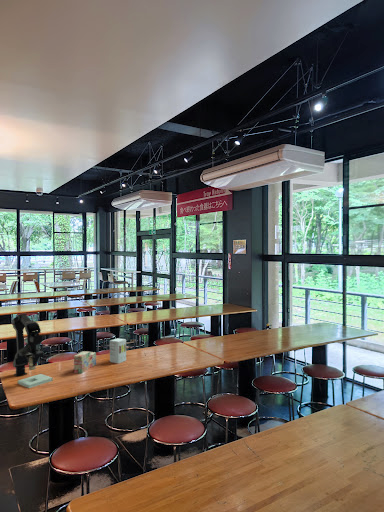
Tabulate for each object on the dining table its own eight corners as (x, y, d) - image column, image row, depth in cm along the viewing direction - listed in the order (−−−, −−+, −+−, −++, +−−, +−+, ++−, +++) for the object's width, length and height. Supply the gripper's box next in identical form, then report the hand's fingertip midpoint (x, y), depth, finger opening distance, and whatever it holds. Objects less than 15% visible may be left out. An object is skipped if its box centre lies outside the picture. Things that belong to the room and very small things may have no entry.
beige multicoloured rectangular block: (88, 364, 265) (88, 347, 265) (96, 364, 264) (96, 348, 264) (73, 373, 244) (73, 355, 244) (82, 373, 243) (81, 356, 243)
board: (17, 383, 224) (17, 380, 224) (41, 376, 237) (41, 373, 237) (29, 388, 216) (29, 385, 216) (52, 380, 229) (52, 377, 229)
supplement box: (118, 363, 264) (118, 341, 264) (109, 362, 269) (109, 340, 269) (126, 360, 272) (126, 339, 273) (117, 358, 277) (117, 337, 277)
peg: (27, 369, 225) (27, 356, 225) (33, 367, 228) (33, 355, 228) (30, 370, 222) (30, 358, 222) (37, 368, 226) (37, 356, 226)
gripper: (12, 342, 224) (12, 366, 224) (27, 346, 213) (27, 372, 213) (29, 339, 233) (29, 362, 233) (44, 342, 222) (44, 367, 222)
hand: (32, 365), depth 225 cm, fingers closed on peg, 4 cm apart
